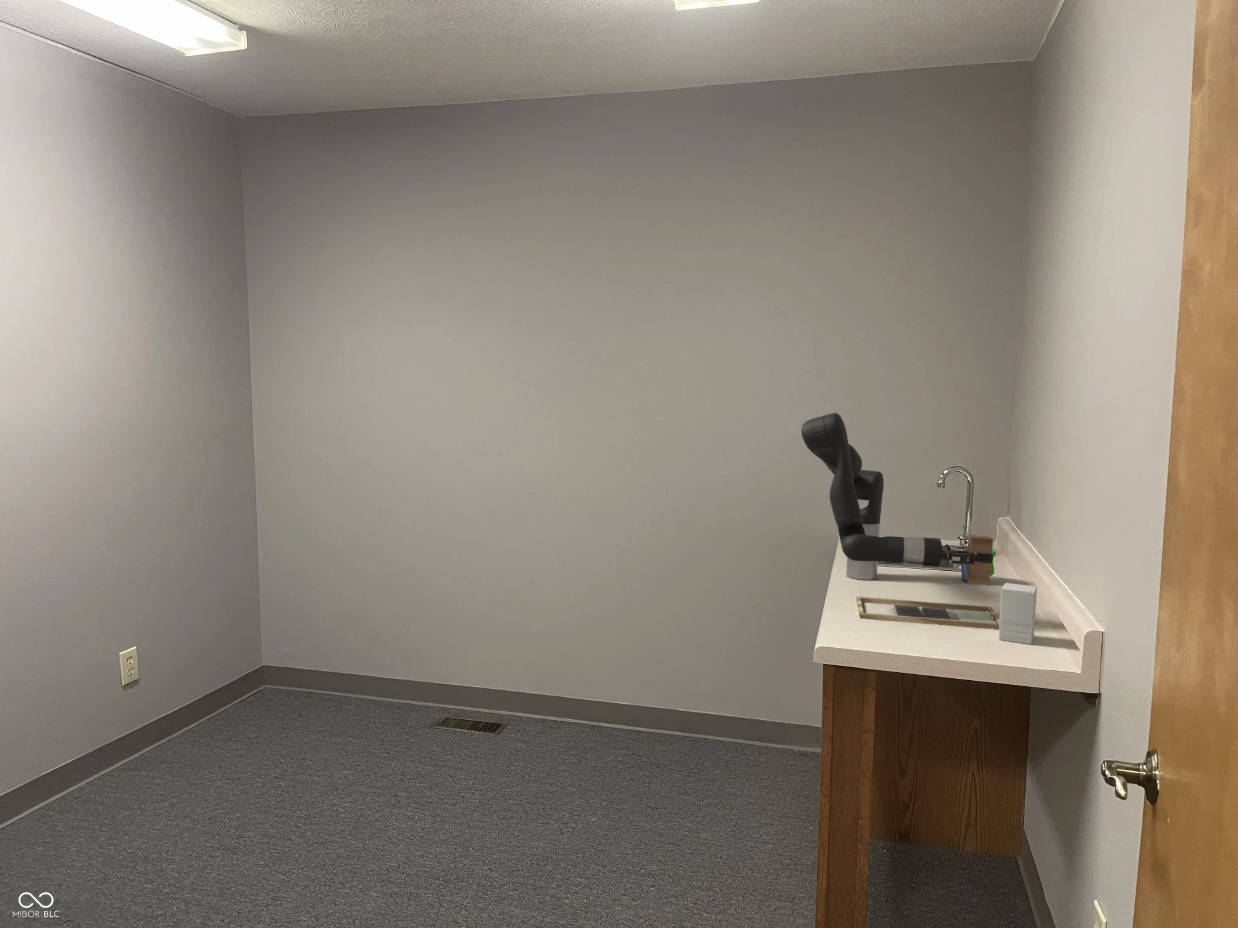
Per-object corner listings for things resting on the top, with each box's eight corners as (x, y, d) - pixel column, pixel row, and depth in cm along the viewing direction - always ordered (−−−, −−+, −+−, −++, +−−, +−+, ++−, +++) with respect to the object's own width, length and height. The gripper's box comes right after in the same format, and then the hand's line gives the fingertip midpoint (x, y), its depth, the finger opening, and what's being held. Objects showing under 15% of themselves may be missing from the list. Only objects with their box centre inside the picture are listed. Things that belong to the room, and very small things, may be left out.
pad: (954, 610, 233) (954, 609, 233) (988, 613, 231) (988, 612, 231) (961, 623, 221) (961, 621, 221) (997, 625, 219) (997, 624, 219)
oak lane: (856, 600, 241) (856, 596, 241) (991, 610, 233) (991, 606, 233) (859, 617, 223) (859, 613, 223) (1005, 629, 216) (1005, 625, 216)
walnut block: (965, 579, 228) (968, 534, 226) (985, 581, 227) (989, 535, 225) (968, 583, 223) (972, 537, 222) (989, 585, 222) (993, 538, 221)
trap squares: (894, 606, 236) (894, 604, 236) (945, 610, 233) (945, 608, 233) (899, 618, 224) (899, 616, 224) (952, 622, 221) (952, 620, 221)
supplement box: (1034, 637, 210) (1038, 586, 209) (1031, 645, 204) (1035, 592, 203) (1001, 632, 214) (1005, 581, 213) (997, 639, 208) (1001, 587, 206)
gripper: (925, 542, 220) (997, 547, 216) (918, 532, 234) (986, 537, 230) (923, 571, 220) (995, 576, 217) (916, 560, 234) (984, 565, 231)
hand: (990, 556), depth 223 cm, fingers closed on walnut block, 5 cm apart
